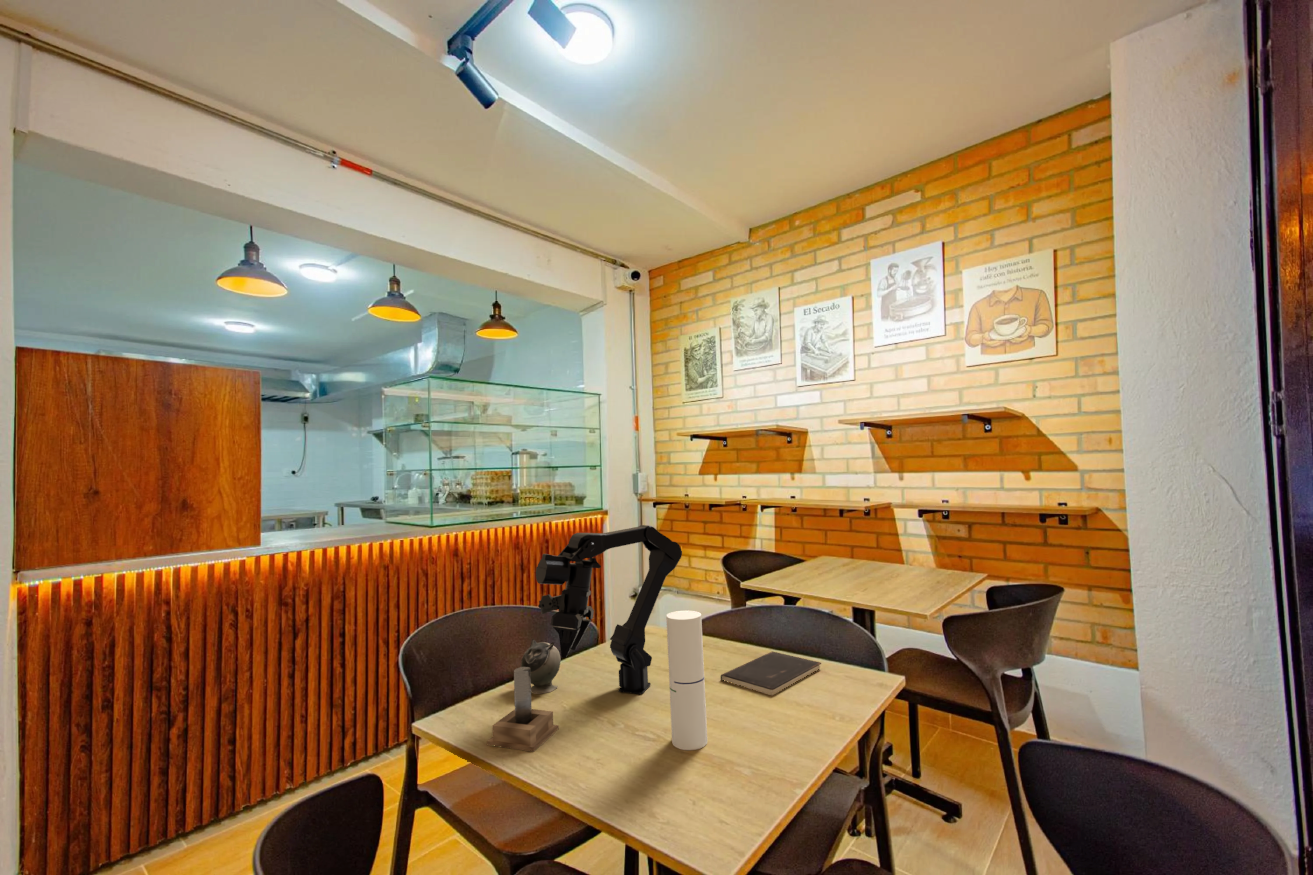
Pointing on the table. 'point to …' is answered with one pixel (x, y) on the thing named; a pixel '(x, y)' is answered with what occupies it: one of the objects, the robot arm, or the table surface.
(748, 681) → the hardcover book
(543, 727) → the socket board
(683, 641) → the cylindrical container
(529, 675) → the steel pin
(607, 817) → the table surface
